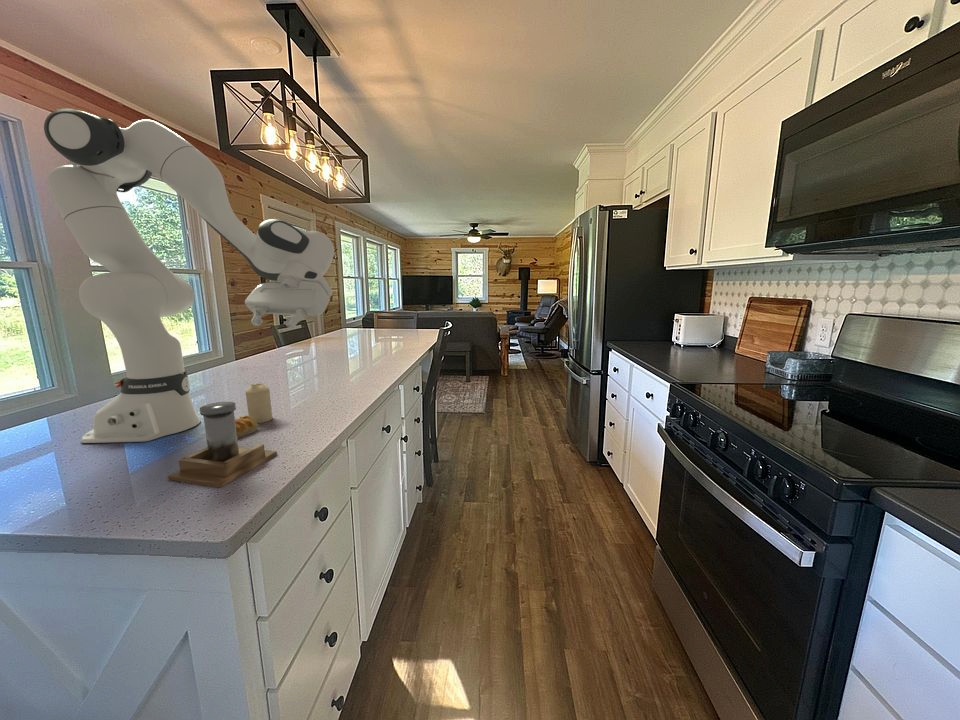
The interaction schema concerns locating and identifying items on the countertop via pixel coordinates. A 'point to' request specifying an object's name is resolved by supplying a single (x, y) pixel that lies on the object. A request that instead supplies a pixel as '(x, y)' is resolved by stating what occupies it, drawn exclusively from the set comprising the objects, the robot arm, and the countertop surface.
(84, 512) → the countertop surface
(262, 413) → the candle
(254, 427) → the pastry
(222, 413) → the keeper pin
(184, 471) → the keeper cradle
